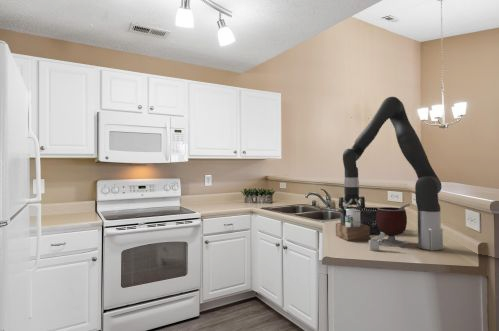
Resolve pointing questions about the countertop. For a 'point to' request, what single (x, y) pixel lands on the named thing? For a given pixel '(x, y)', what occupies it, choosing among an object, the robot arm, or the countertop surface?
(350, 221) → the syrup box
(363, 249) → the countertop surface
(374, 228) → the storage bin
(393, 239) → the mate gourd
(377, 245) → the lighter
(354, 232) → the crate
